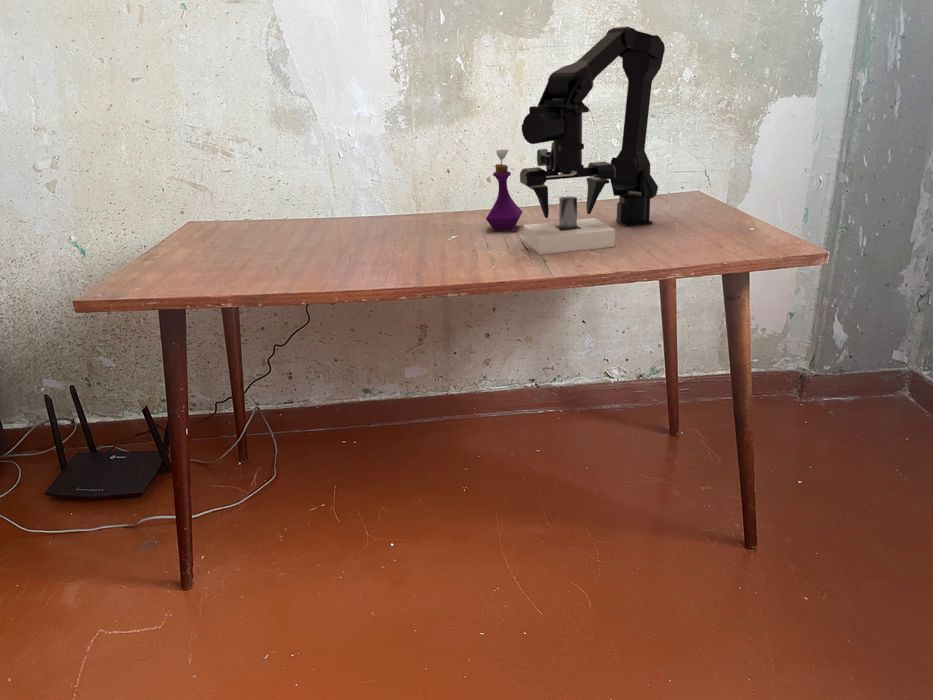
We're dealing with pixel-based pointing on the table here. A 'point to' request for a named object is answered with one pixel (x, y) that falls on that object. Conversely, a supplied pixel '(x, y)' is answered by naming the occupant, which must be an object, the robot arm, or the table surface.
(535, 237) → the socket board
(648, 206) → the robot arm
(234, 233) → the table surface
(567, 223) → the pin
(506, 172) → the perfume bottle
